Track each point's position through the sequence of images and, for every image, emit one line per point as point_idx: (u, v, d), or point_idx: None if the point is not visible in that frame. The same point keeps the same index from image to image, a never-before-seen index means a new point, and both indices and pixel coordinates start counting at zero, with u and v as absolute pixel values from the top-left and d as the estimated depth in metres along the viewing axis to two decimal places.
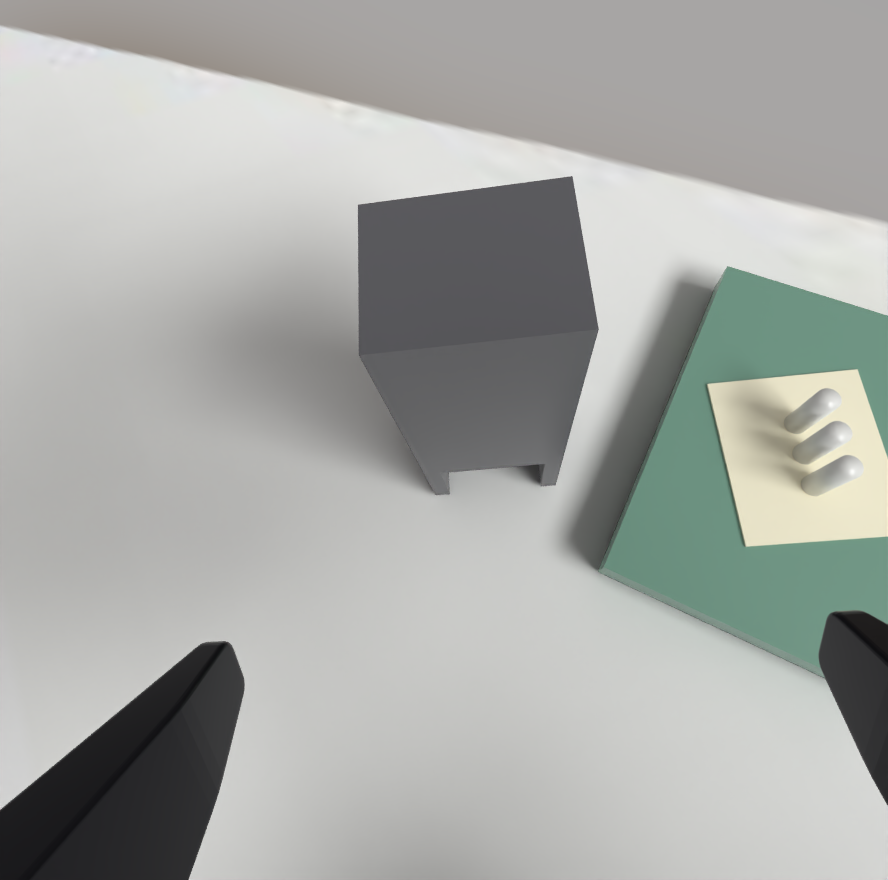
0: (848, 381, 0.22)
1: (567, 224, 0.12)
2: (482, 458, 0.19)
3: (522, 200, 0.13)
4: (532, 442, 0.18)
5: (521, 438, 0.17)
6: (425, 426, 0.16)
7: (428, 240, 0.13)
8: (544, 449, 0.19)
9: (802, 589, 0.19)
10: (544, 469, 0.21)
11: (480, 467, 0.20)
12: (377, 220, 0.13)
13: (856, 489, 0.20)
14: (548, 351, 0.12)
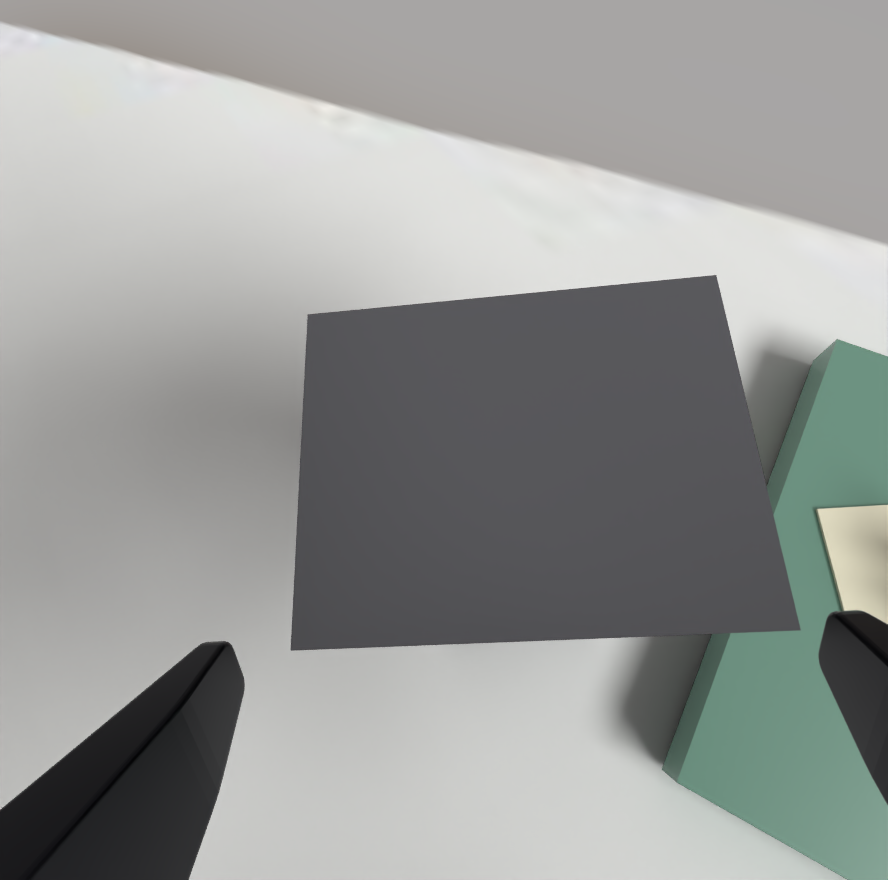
0: None
1: (714, 377, 0.06)
2: None
3: (619, 321, 0.07)
4: None
5: None
6: None
7: (437, 396, 0.07)
8: None
9: None
10: None
11: None
12: (341, 348, 0.07)
13: None
14: None
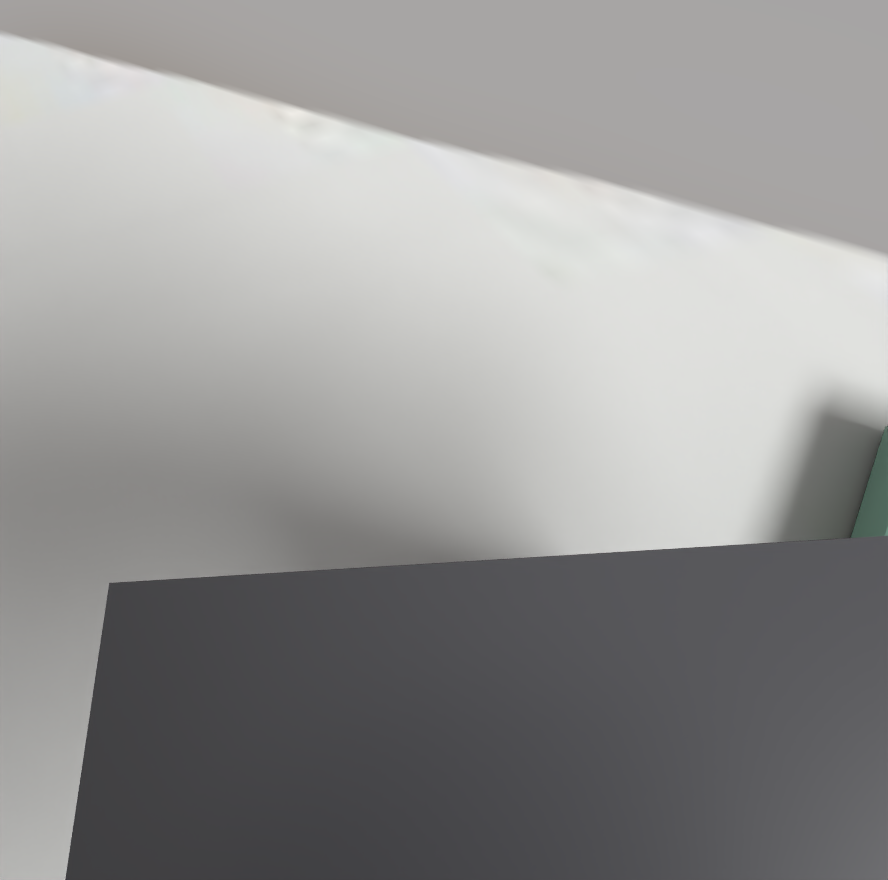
0: None
1: None
2: None
3: (778, 638, 0.03)
4: None
5: None
6: None
7: (370, 821, 0.03)
8: None
9: None
10: None
11: None
12: (170, 675, 0.03)
13: None
14: None
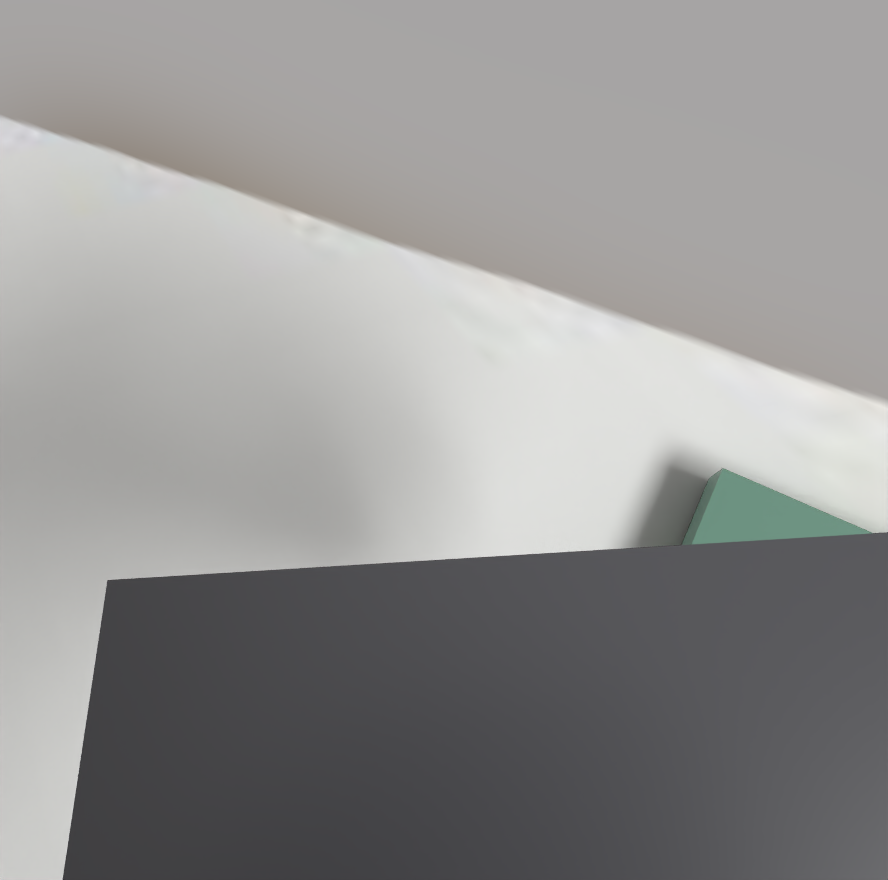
0: None
1: None
2: None
3: (776, 635, 0.03)
4: None
5: None
6: None
7: (366, 817, 0.03)
8: None
9: None
10: None
11: None
12: (167, 671, 0.03)
13: None
14: None
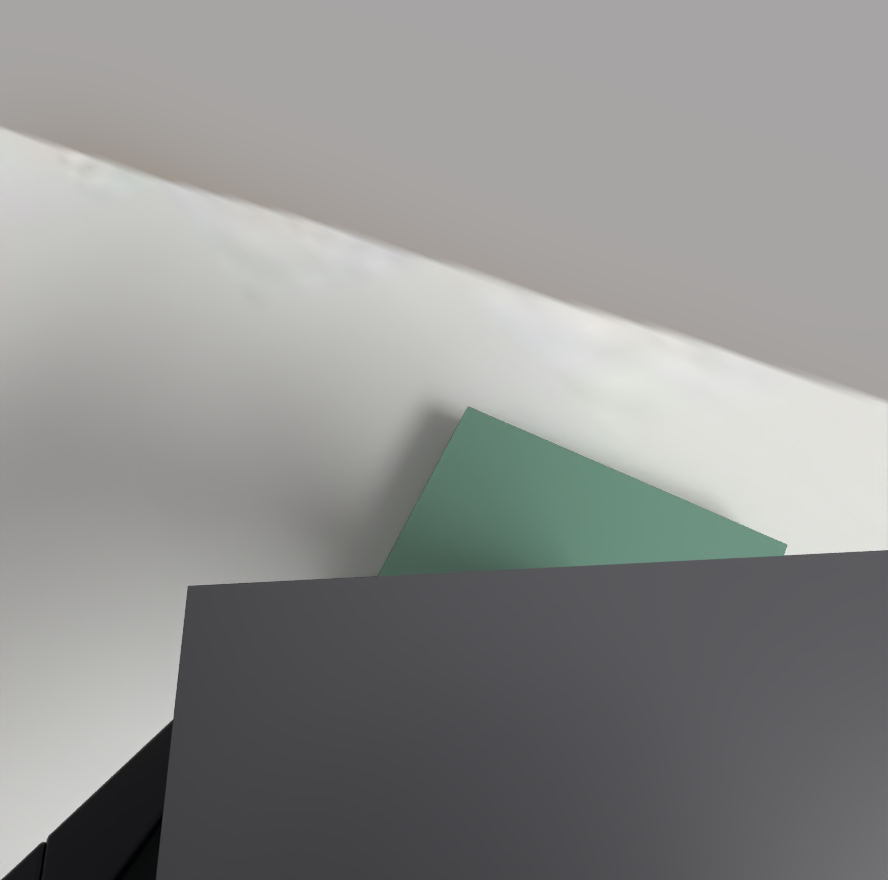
0: None
1: None
2: None
3: (724, 635, 0.04)
4: None
5: None
6: None
7: (401, 774, 0.04)
8: None
9: None
10: None
11: None
12: (240, 660, 0.04)
13: None
14: None
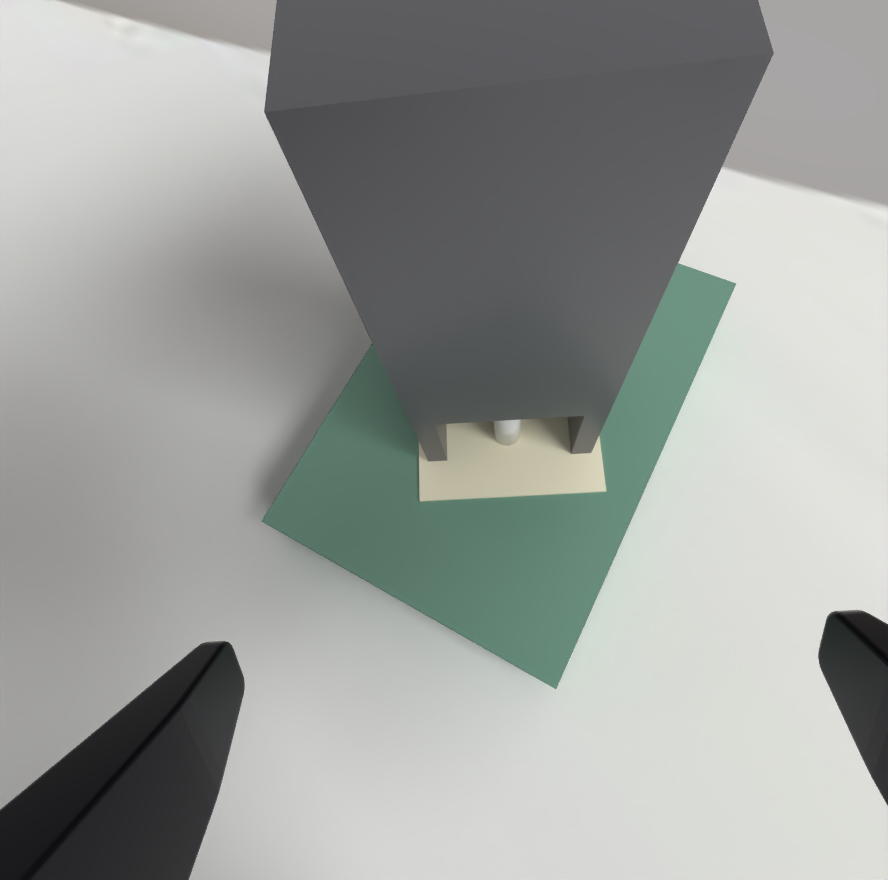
0: None
1: None
2: (496, 401, 0.13)
3: None
4: (575, 373, 0.12)
5: (558, 363, 0.11)
6: (409, 329, 0.10)
7: None
8: (589, 388, 0.13)
9: (472, 551, 0.17)
10: (581, 426, 0.15)
11: (491, 417, 0.14)
12: None
13: (553, 438, 0.17)
14: (649, 129, 0.06)
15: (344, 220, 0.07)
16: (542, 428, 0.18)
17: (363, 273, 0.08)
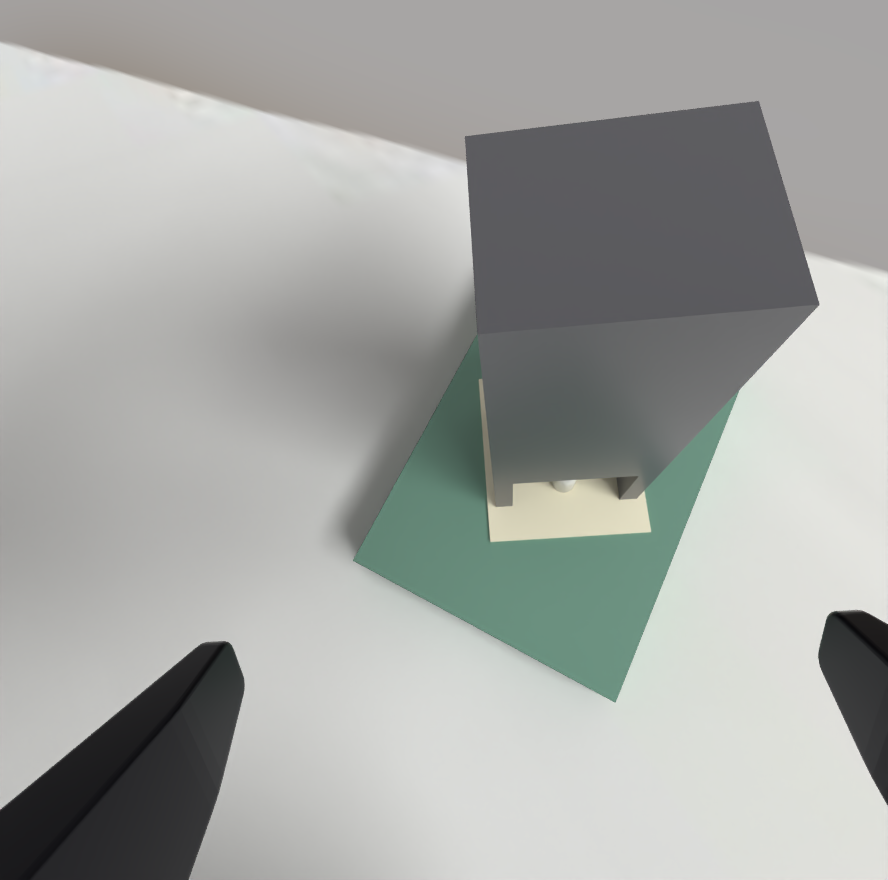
0: None
1: (758, 163, 0.09)
2: (570, 468, 0.16)
3: (691, 131, 0.09)
4: (640, 451, 0.15)
5: (628, 446, 0.14)
6: (520, 430, 0.13)
7: (565, 182, 0.09)
8: (648, 460, 0.15)
9: (538, 585, 0.19)
10: (634, 482, 0.18)
11: (562, 478, 0.17)
12: (492, 157, 0.10)
13: (603, 486, 0.20)
14: (731, 335, 0.09)
15: (503, 378, 0.10)
16: None
17: (501, 402, 0.11)
